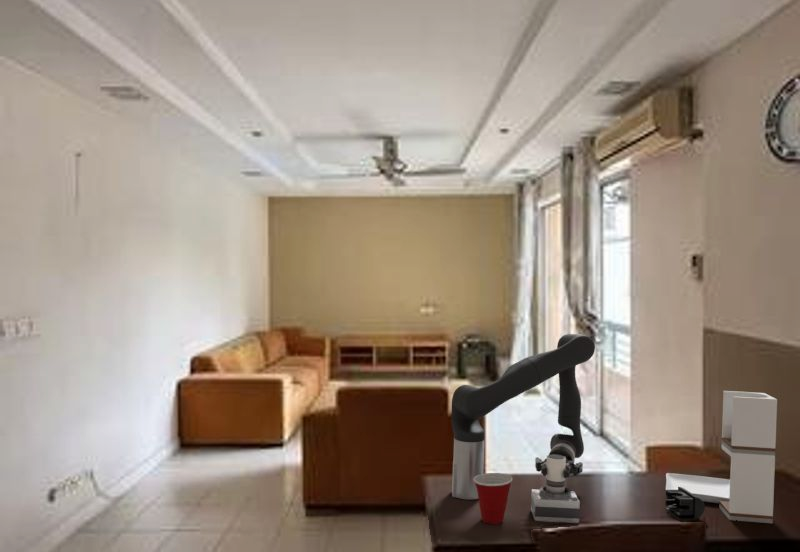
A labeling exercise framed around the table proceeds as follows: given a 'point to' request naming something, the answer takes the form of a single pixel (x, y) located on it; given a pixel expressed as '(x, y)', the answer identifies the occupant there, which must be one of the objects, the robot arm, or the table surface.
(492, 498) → the plastic cup
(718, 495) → the salad plate
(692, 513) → the end cap
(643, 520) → the table surface
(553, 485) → the lens barrel
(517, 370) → the robot arm
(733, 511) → the white shelf tower
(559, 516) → the banded square pedestal
